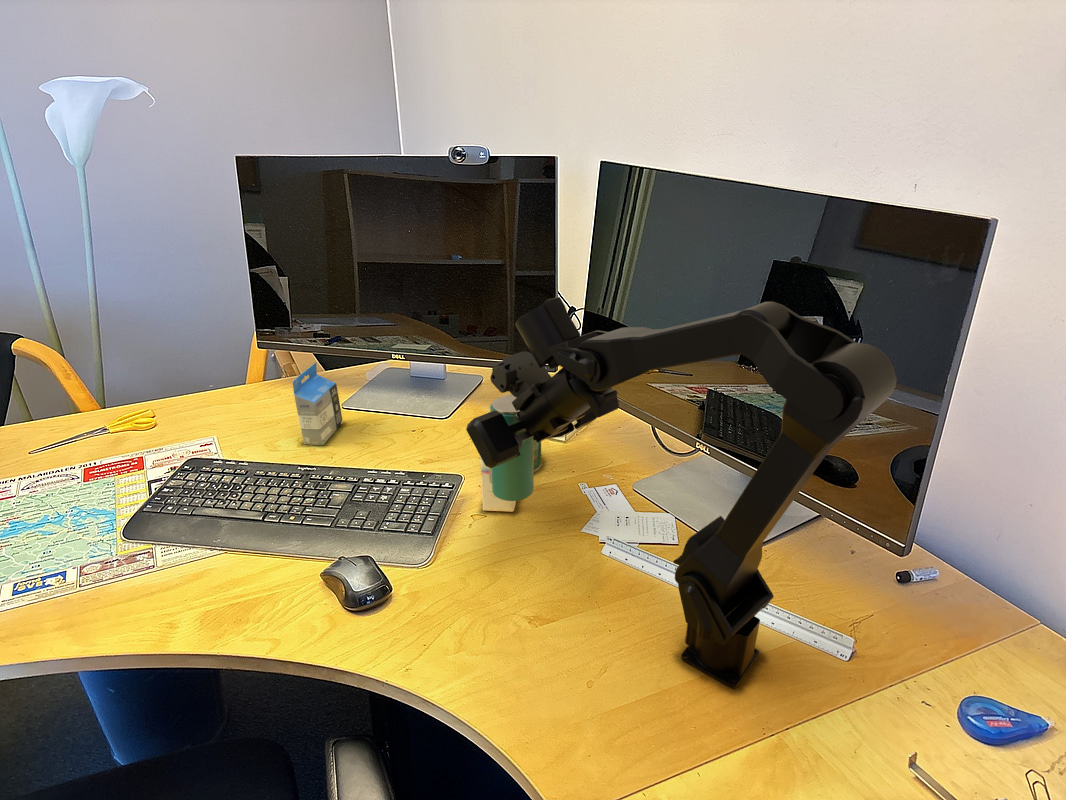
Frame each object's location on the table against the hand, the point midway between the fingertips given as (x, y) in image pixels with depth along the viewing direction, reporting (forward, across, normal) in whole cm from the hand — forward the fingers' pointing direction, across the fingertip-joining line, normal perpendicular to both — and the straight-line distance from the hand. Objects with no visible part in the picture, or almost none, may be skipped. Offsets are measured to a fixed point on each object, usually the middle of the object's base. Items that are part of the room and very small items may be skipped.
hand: (506, 445), depth 93 cm
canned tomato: (+17, -12, +1) cm, 21 cm away
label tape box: (+40, +6, -22) cm, 45 cm away
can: (+4, 0, +6) cm, 7 cm away
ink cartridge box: (+13, -4, +5) cm, 14 cm away
